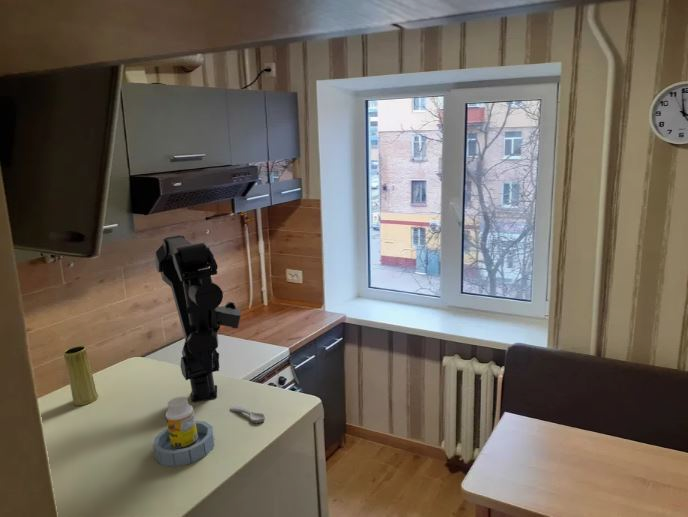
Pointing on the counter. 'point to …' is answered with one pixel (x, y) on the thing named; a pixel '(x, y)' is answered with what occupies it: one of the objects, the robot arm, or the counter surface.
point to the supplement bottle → (181, 423)
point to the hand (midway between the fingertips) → (210, 365)
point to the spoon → (250, 414)
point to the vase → (80, 376)
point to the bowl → (186, 455)
